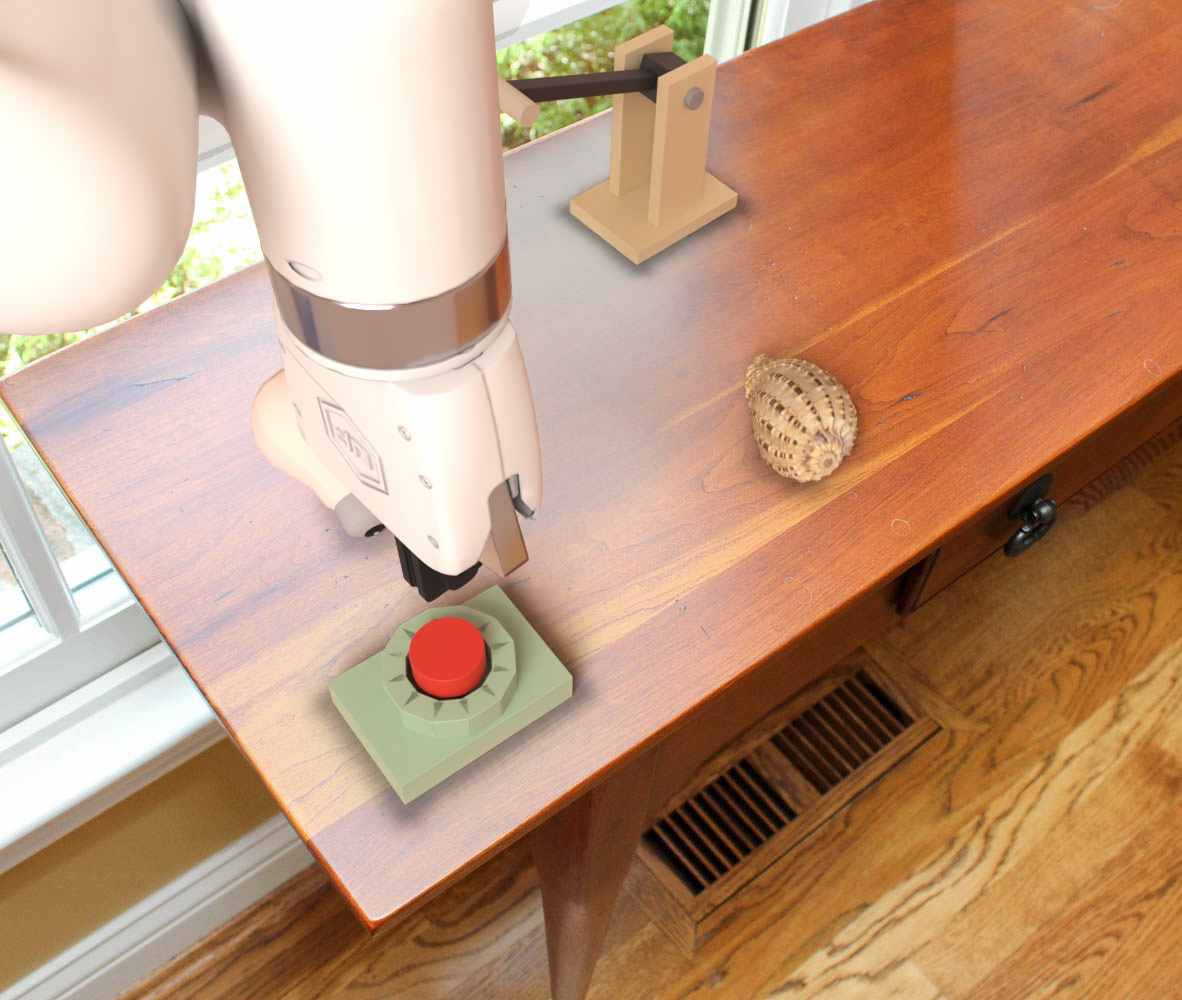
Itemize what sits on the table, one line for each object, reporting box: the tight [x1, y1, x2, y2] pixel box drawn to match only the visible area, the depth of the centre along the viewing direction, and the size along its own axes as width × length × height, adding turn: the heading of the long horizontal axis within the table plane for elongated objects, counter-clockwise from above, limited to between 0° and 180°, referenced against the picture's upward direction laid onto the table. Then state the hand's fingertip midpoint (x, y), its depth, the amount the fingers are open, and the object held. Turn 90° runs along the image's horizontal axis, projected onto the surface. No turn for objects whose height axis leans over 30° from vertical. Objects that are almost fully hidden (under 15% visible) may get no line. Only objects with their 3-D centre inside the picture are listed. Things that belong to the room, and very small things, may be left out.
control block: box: [326, 583, 574, 806], centre depth 62 cm, size 10×7×4 cm
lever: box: [497, 51, 688, 128], centre depth 75 cm, size 16×5×2 cm, turn 137°
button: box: [409, 617, 486, 698], centre depth 60 cm, size 4×4×2 cm
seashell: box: [744, 353, 859, 484], centre depth 76 cm, size 8×6×10 cm
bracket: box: [569, 24, 739, 266], centre depth 83 cm, size 10×7×13 cm
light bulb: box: [249, 368, 387, 538], centre depth 69 cm, size 7×7×11 cm
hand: (445, 572), depth 54 cm, fingers closed
